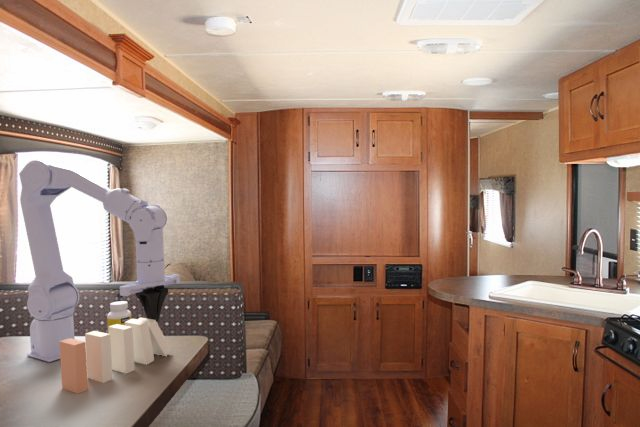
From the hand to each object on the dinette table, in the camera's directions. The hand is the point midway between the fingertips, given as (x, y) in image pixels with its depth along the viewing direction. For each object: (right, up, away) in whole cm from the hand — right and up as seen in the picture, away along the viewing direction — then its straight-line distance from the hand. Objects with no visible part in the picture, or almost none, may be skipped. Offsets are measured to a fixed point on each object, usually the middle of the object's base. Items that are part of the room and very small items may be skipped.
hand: (153, 321), depth 99 cm
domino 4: (+1, -7, +2) cm, 8 cm away
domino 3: (-1, -8, -2) cm, 8 cm away
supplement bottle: (-12, -8, +11) cm, 18 cm away
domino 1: (-6, -9, -11) cm, 15 cm away
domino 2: (-4, -8, -7) cm, 11 cm away
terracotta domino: (-9, -9, -15) cm, 20 cm away
